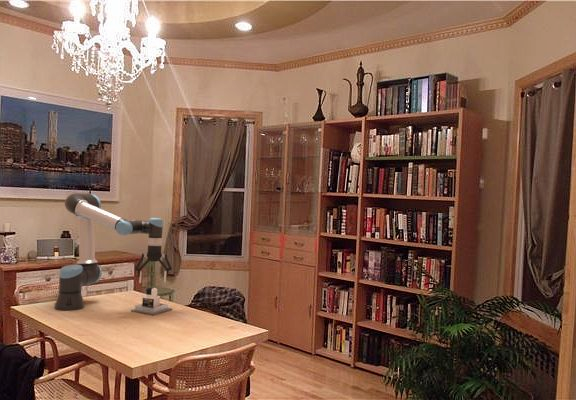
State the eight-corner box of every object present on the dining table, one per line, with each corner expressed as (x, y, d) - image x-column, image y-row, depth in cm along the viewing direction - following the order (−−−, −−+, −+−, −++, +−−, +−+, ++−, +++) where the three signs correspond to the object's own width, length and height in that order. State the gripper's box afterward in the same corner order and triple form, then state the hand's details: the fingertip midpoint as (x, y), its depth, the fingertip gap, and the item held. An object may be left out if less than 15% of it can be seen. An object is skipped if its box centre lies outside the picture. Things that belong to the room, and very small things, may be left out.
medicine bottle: (141, 309, 263) (142, 288, 263) (148, 307, 270) (149, 286, 270) (153, 311, 261) (154, 289, 262) (159, 308, 268) (160, 287, 268)
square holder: (130, 311, 262) (131, 305, 262) (149, 306, 276) (149, 300, 276) (154, 315, 255) (154, 309, 255) (172, 309, 270) (172, 304, 270)
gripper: (132, 245, 258) (129, 283, 258) (178, 246, 267) (175, 283, 267) (131, 243, 265) (129, 281, 265) (176, 244, 274) (173, 281, 274)
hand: (152, 282), depth 266 cm, fingers open, 13 cm apart
